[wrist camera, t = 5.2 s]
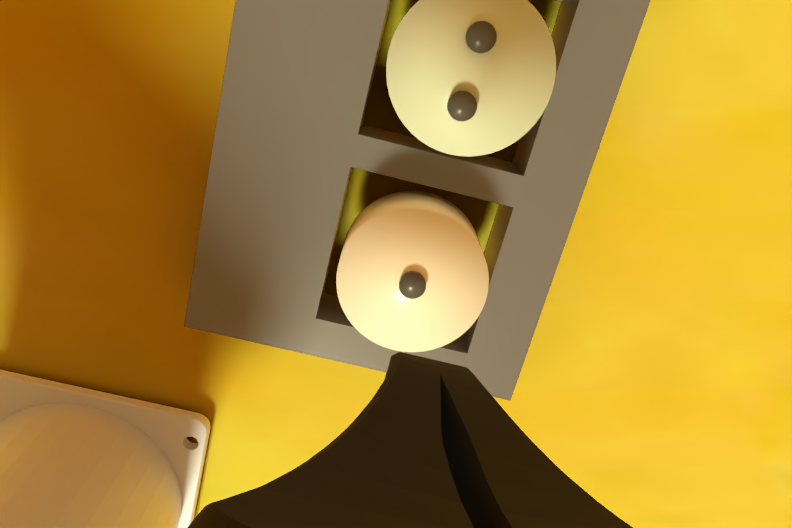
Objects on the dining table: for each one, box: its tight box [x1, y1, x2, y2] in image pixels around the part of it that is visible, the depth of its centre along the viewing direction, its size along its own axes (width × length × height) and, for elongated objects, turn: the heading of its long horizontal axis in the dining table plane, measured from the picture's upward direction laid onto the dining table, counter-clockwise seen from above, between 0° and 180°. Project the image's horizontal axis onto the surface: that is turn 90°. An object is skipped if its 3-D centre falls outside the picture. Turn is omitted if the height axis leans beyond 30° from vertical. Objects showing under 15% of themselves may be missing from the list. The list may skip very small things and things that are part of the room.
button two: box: [386, 0, 556, 157], centre depth 17 cm, size 4×4×2 cm
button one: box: [336, 191, 489, 352], centre depth 18 cm, size 4×4×2 cm
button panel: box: [184, 0, 650, 400], centre depth 18 cm, size 18×10×2 cm, turn 166°
